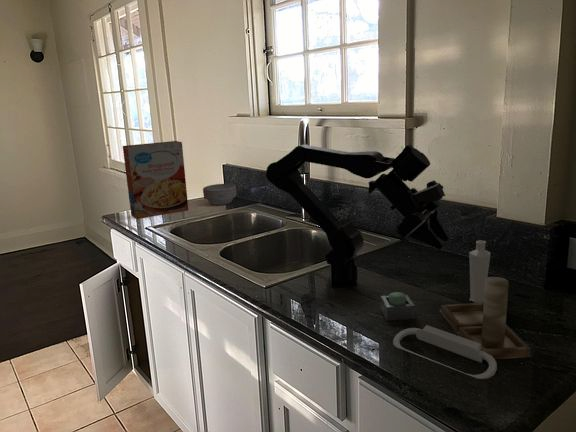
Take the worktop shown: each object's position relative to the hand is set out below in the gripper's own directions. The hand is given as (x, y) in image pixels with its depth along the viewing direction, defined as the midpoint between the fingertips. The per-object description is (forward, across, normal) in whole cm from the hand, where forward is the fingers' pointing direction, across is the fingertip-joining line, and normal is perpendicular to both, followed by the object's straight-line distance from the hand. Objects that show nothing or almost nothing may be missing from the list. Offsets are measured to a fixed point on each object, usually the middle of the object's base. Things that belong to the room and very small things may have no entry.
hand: (444, 244), depth 115 cm
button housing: (+5, -14, +14) cm, 21 cm away
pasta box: (-82, +43, +102) cm, 137 cm away
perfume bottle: (+16, 0, +4) cm, 16 cm away
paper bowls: (-72, +67, +92) cm, 134 cm away
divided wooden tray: (+17, -15, +2) cm, 23 cm away
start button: (+4, -14, +13) cm, 20 cm away
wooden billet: (+18, -20, -1) cm, 27 cm away
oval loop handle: (+14, -27, +6) cm, 31 cm away
